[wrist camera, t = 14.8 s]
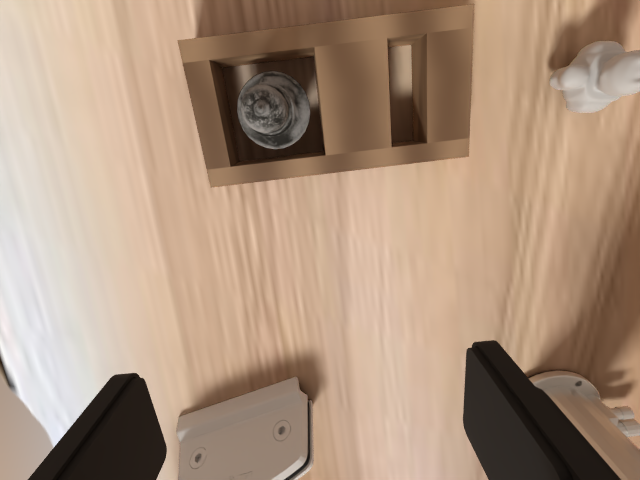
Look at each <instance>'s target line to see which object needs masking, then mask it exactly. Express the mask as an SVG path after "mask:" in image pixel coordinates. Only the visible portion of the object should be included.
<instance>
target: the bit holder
mask: <svg viewBox="0 0 640 480" xmlns="http://www.w3.org/2000/svg"><path fill="white" fill-rule="evenodd" d="M473 25H474V4H470V5H462V6H454V7H445V8H437V9H429V10H421V11H413V12H405V13H397V14H389V15H380V16H372V17H364V18H356V19H348V20H340V21H332V22H324V23H315V24H307V25H299V26H291V27H283V28H275V29H267V30H259V31H250V32H242V33H234V34H226V35H218V36H210V37H202V38H194V39H185V40H178V44H179V49H180V53H181V58H182V62H183V67H184V71H185V75H186V80H187V84H188V89H189V93H190V98H191V102H192V106H193V111H194V115H195V120H196V124H197V129H198V133H199V137H200V142H201V146H202V151H203V155H204V160H205V164H206V168H207V173H208V177H209V182H210V186H211V187H219V186H228V185H236V184H244V183H253V182H261V181H269V180H277V179H286V178H294V177H302V176H311V175H319V174H327V173H336V172H344V171H352V170H361V169H369V168H377V167H386V166H394V165H402V164H411V163H419V162H427V161H436V160H444V159H452V158H461V157H469V136H470V109H471V81H472V53H473ZM403 45H411V47H412V101H413V141H405V142H396V143H391V121H390V96H389V71H388V47H395V46H403ZM313 56H314V65H315V74H316V84H317V93H318V102H319V112H320V121H321V130H322V140H323V149H324V151H322V152H313V153H305V154H297V155H289V156H280V157H272V158H264V159H255V160H247V161H240V160H239V155H238V149H237V144H236V139H235V134H234V129H233V123H232V118H231V113H230V108H229V102H228V97H227V92H226V87H225V82H224V76H223V71H222V68H223V67H232V66H240V65H248V64H256V63H264V62H273V61H281V60H289V59H297V58H305V57H313Z"/></svg>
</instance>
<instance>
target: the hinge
mask: <svg viewBox="0 0 640 480" xmlns="http://www.w3.org/2000/svg"><path fill="white" fill-rule="evenodd" d="M177 435H178V438H179V441H180V455H179V476H178V480H298V479H299V478H300V477H302V476H303V475H304V474H305V473H306V472H308V471H309V470H310V469H311V467H312V465H313V461H314V458H313V404H312V400H309V401H308V399H307V395H306V394H305V393H303V392H302V391H300V389H299V380H298V378H297V377H293V378H290V379H287V380H284V381H281V382H279V383H276V384H273V385H270V386H267V387H264V388H261V389H258V390H255V391H252V392H249V393H247V394H244V395H241V396H238V397H235V398H232V399H229V400H226V401H223V402H220V403H217V404H214V405H212V406H209V407H206V408H203V409H200V410H197V411H194V412H191V413H188V414H185V415H182V416H180V417H179V419H178V425H177Z"/></svg>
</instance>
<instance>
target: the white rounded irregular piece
mask: <svg viewBox="0 0 640 480" xmlns="http://www.w3.org/2000/svg"><path fill="white" fill-rule="evenodd" d="M550 85H551V87H553V88H554V89H557V90H562V93H563V97H564V99H565V100H566V108H567V109H568V110H570V111H572V112H578V113H593V112H597V111H600V110H601V109H603V108H605V107H606V106H607V105H609V104H610V103H611V102H612V101H615V100H618V99H619V98H620V97H621V96H625V95H632V94H635V93H638V92H639V91H640V50H636V51H631V52H625V50H624V49H623V47H622V46H621V45H620V44H619V43H617V42H614V41H596V42H594V43H591V44H589V45H586V46H585V47H583V48H582V49H581V50H580V51H579V52H578V54H577V57H576V58H575V59H574V60H573V61H572V62H571V63H570V65H569V66H567V67H563V68H560V69H558V70H556V71H555V72H554V73H553V74H552V75H551V77H550Z"/></svg>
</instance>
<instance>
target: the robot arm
mask: <svg viewBox="0 0 640 480" xmlns="http://www.w3.org/2000/svg"><path fill="white" fill-rule="evenodd" d="M633 418H634V413H633V411H632V409H631V408H630V407H628V406H622V407H615V408H609V407H607V406H605V405H604V404H603V403H602V402H601V398H600V394H599V392H598V391H597V389H596V388H595V387H594V386H593V385H592V384H591V383H590V382H589V381H588V380H587V379H586V378H584V377H583V376H581V375H579V374H577V373H573V372H569V371H550V372H545V373H541V374H537V375H535V376H532V377H530V378H528V377H527V376H526V375H525V374H524V373H523V371H522V370H521V369H520V368H519V367H518V366H517V364H516V363H515V362H514V361H513V360H512V358H511V357H510V356H509V355H508V354H507V353H506V351H505V350H504V349H503V348H502V347H501V346H500V344H499V343H498V342H497V341H494V340H493V341H482V342H474V343H473V345H472V348H468V349H467V353H466V373H465V393H464V413H463V424H464V429H465V432H466V434H467V437H468V439H469V441H470V443H471V445H472V447H473V449H474V451H475V453H476V455H477V457H478V459H479V461H480V463H481V465H482V467H483V469H484V471H485V473H486V475H487V477H488V479H489V480H640V449H639V448H638V447H637V446H636V445H635V444H634V443H633V442H632V441H631V440H630V439H629V438H628V437H631V436H639V435H640V425H639V423H638V422H637V421H636V420H634V419H633ZM166 452H167V447H166V443H165V440H164V437H163V434H162V431H161V428H160V425H159V422H158V419H157V416H156V413H155V410H154V407H153V404H152V400H151V397H150V394H149V391H148V388H147V385H146V382H145V380H144V379H143V378H140V377H139V375H138V374H137V373H129V374H118V375H114V376H113V377H111V378H110V380H109V381H108V382H107V383H106V384H105V386H104V387H103V388H102V389H101V391H100V392H99V393H98V394H97V395H96V397H95V398H94V399H93V400H92V402H91V403H90V404H89V405H88V407H87V408H86V409H85V410H84V411H83V413H82V414H81V415H80V416H79V418H78V419H77V420H76V421H75V422H74V424H73V425H72V426H71V427H70V429H69V430H68V431H67V432H66V434H65V435H64V436H63V437H62V438H61V440H60V441H59V442H58V443H57V445H56V446H55V447H54V448H53V449H52V451H51V452H50V453H49V454H48V456H47V457H46V458H45V459H44V461H43V462H42V463H41V464H40V465H39V467H38V468H37V469H36V470H35V472H34V473H33V474H32V475H31V476H30V478H29V479H28V480H156V479H157V477H158V474H159V472H160V470H161V468H162V465H163V463H164V461H165V458H166Z"/></svg>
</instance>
